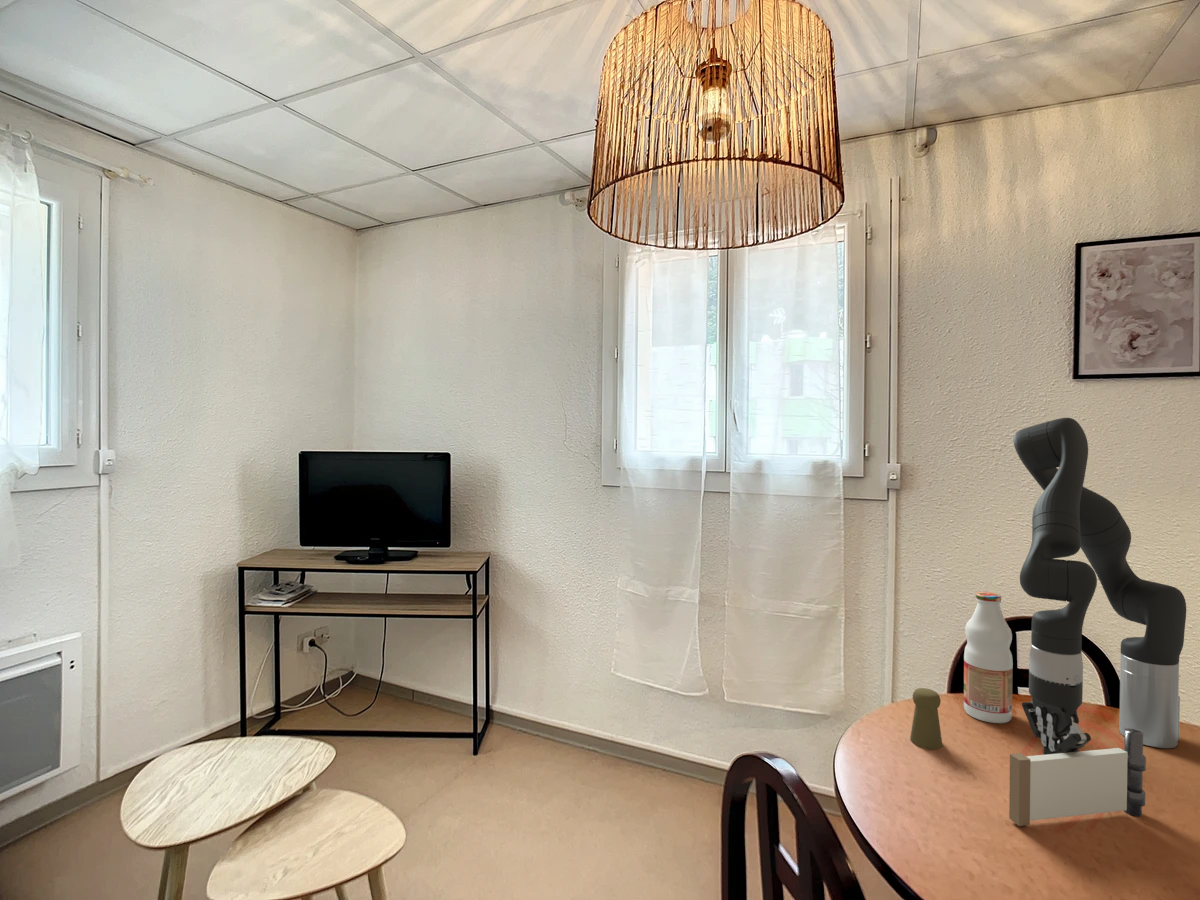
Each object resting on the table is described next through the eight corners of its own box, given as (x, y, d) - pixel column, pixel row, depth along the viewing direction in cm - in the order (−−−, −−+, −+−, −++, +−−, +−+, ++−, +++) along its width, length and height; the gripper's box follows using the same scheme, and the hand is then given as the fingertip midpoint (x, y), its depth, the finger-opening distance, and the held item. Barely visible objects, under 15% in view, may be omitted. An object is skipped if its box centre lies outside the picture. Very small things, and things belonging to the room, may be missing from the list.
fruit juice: (981, 725, 136) (982, 600, 136) (954, 706, 146) (955, 589, 145) (1022, 723, 137) (1023, 599, 136) (992, 704, 146) (993, 588, 146)
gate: (1116, 806, 106) (1117, 744, 106) (1128, 814, 104) (1129, 750, 104) (1009, 818, 103) (1009, 754, 103) (1018, 825, 101) (1019, 760, 101)
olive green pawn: (946, 750, 126) (947, 697, 126) (914, 748, 127) (915, 695, 127) (936, 736, 132) (937, 685, 132) (906, 733, 133) (906, 683, 133)
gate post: (1128, 804, 107) (1129, 726, 107) (1149, 815, 104) (1151, 734, 104) (1115, 808, 106) (1117, 729, 106) (1136, 819, 103) (1138, 737, 103)
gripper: (1007, 658, 113) (1006, 749, 114) (1065, 690, 100) (1063, 793, 101) (1046, 656, 114) (1044, 747, 115) (1109, 688, 101) (1106, 791, 102)
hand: (1053, 769), depth 108 cm, fingers closed
